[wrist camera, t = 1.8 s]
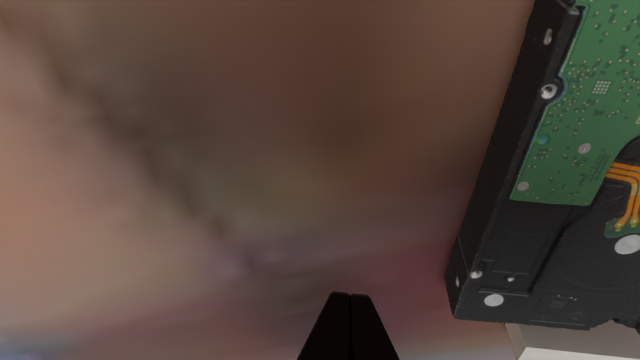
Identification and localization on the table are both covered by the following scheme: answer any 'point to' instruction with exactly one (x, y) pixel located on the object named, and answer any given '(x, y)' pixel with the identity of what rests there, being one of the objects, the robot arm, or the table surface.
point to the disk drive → (560, 179)
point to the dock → (574, 342)
